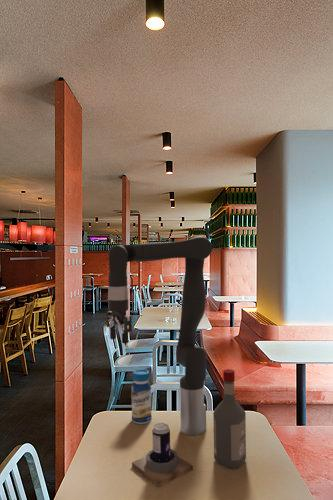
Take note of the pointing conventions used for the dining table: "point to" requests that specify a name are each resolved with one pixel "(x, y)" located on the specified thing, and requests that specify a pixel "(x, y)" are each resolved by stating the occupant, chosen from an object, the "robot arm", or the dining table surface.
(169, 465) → the collar
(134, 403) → the beverage bottle
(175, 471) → the base plate
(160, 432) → the beverage can
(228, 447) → the liquor
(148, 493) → the dining table surface
